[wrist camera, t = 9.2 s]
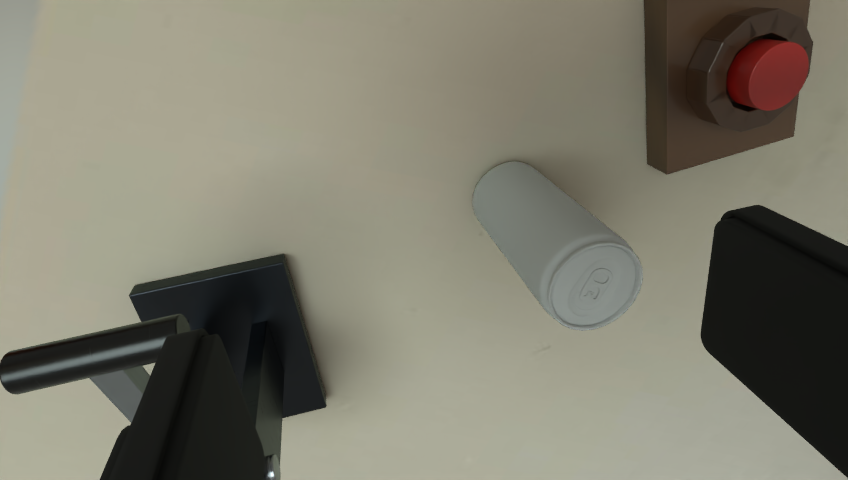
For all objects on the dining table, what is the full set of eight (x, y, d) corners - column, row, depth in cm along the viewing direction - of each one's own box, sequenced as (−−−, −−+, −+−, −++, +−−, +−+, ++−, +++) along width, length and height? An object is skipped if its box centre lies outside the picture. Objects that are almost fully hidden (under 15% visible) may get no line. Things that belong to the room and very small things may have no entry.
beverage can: (457, 215, 34) (526, 319, 23) (490, 147, 32) (581, 225, 22) (519, 236, 36) (609, 343, 25) (553, 173, 34) (665, 258, 23)
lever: (12, 331, 18) (-14, 392, 16) (180, 294, 18) (172, 350, 17) (170, 487, 27) (164, 537, 25) (278, 458, 27) (280, 506, 26)
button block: (643, -13, 30) (688, -13, 26) (784, -51, 31) (847, -56, 27) (646, 164, 35) (684, 184, 32) (767, 128, 36) (818, 144, 32)
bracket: (134, 285, 31) (39, 452, 20) (283, 253, 33) (273, 395, 21) (199, 427, 37) (154, 620, 26) (326, 395, 38) (335, 568, 27)
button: (727, 48, 29) (751, 51, 27) (786, 31, 29) (813, 34, 28) (724, 111, 30) (746, 118, 29) (779, 95, 31) (805, 101, 29)
